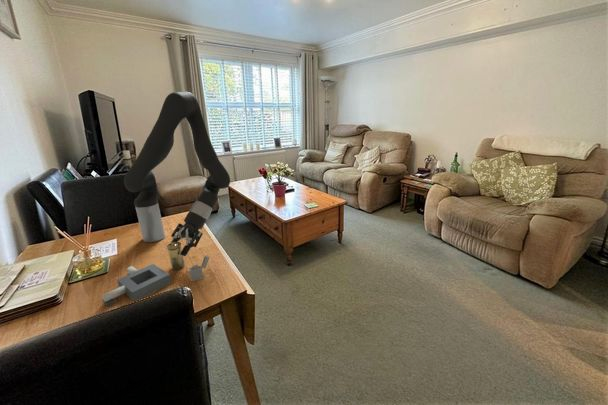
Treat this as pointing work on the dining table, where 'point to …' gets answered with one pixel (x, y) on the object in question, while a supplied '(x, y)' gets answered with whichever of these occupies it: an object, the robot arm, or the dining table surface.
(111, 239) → the dining table surface
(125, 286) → the shaft housing
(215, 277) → the dining table surface
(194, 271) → the lighter
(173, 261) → the gold cylindrical piece
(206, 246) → the dining table surface
